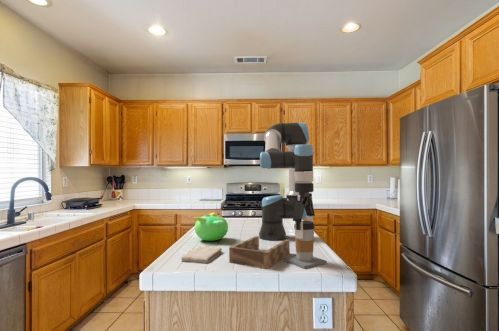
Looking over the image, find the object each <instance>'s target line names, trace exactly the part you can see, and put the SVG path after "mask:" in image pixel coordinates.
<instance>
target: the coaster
mask: <svg viewBox="0 0 499 331" xmlns="http://www.w3.org/2000/svg"><path fill="white" fill-rule="evenodd" d="M283 261H285V262H287V263H289V264H291V265H294V266H296V267H299V268H301V269H308V268H309V269H310V268H313V267H318V266H321V265H325V263H326V264H327V262H328V261H327V260H325V259H323V258H320V257H317V256H314V255H313V259H312V261H308V262H304V261H299V260H298V259H297V255H293V256H289V257H284V258H283Z"/></svg>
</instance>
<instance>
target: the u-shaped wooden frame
mask: <svg viewBox="0 0 499 331" xmlns="http://www.w3.org/2000/svg"><path fill="white" fill-rule="evenodd" d="M259 240H260V238H259V235H257V236H253V237H250V238H248V239H246V240H243V241H241V242H238V243H236V244H234V245H231V246H230V247H229V249H228V250H229V251H228V254H229V258H228V260H229V261H228V262H229V263H231V264H238V265H243V266H247V267H248V266H249V267H256V268H260V269H266V270H267V269H269V268H271V267H272V266H273V265H275V264H276V263H278V262H279V261H281V260H282V259H284V258H286V256H288V255H289V254H290V250H291V248H290V239H284V240H283V241H282V242H280V243H278V244H276V245H273V246H272V247H271V248H269V249H267V250H260V247H259V246H260V244H259V243H260V241H259Z"/></svg>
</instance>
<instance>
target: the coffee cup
mask: <svg viewBox="0 0 499 331" xmlns="http://www.w3.org/2000/svg"><path fill="white" fill-rule="evenodd" d="M302 221H303V239H300V238H296V237H295V236H294V239H295V240H294V243H295V244H294V245H295V252H296V256H297V259H298V260H299V261H304V262H308V261H312V259H313V256H314V246H315V245H314V244H315V229H316V228H315V224H314V221H313V222H312V221H306V220H302ZM293 228H294V229H295V223H294V224H293Z"/></svg>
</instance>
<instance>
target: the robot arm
mask: <svg viewBox="0 0 499 331" xmlns="http://www.w3.org/2000/svg"><path fill="white" fill-rule="evenodd" d="M263 140H264V142H265V146H264V147H265V148H264V151H261V152H260V154H259V164H260V165H259V166H260V168H261V169H267V170H268V169H288V192H287V193H286V196H285V197H284V196H283V195H282V194H281V195H280V194H278V195H276V194H275V195H270V196H265V197H263V198H262V200H261V227H260V229H259V232H258V236H259V239H261V240H266V241H281V240H286V238H287V232H286V230H285V227H284V222H283V220H287V219H288V220H289V219H290V220H292V221H293V222H294V224H295V228H294V238H295V237H296V238H300V239H303V221H304V219H305V221H312V222H313V223H314V219H313V218H314V217H315V215H316V213H315V209H314V204H313V196H312V195H313V194H312V193H313V192H314V183H313V182H314V180H315V179H314V147H313V145H312V144H309V142H310V134H309V128H308V126H307V123H305V122H281V123H275V124H273V125H271V126H270V127H268V128H267V129H266V130H265V132H264V135H263ZM281 144H283V145H284V144H285V148H286V149H287V151H281Z"/></svg>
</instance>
